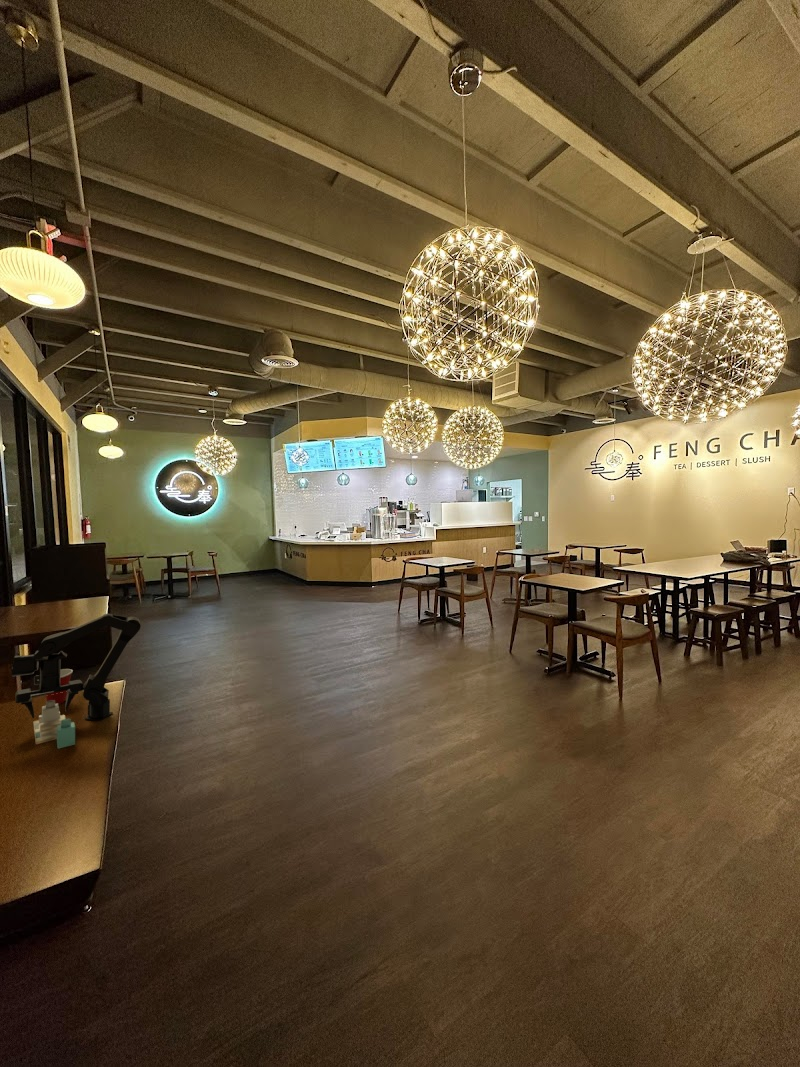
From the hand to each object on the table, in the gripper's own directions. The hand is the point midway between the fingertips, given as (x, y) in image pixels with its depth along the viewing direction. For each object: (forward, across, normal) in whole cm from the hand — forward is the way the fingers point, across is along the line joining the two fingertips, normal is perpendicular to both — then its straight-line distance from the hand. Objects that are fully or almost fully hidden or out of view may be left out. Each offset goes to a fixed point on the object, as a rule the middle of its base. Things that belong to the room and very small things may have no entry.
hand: (50, 714), depth 157 cm
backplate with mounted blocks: (+4, 0, +4) cm, 6 cm away
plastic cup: (+4, -3, -23) cm, 24 cm away
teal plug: (+4, -3, +19) cm, 20 cm away
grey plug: (+3, 0, 0) cm, 3 cm away
